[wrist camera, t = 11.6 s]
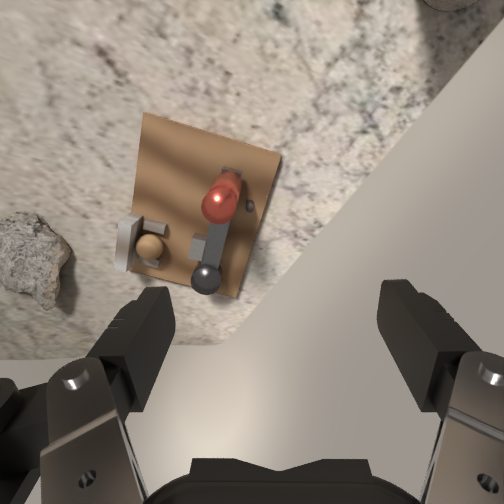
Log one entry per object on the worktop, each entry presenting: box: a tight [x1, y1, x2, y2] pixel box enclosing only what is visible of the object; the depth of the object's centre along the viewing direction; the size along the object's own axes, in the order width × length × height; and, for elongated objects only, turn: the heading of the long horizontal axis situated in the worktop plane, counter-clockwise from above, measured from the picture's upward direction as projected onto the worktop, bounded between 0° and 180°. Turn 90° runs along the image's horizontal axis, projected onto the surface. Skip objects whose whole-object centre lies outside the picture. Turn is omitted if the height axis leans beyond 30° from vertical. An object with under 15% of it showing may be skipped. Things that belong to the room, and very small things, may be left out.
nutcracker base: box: [114, 112, 281, 298], centre depth 39 cm, size 22×17×5 cm
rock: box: [0, 212, 71, 311], centre depth 44 cm, size 14×4×15 cm
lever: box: [188, 166, 243, 295], centre depth 34 cm, size 17×5×12 cm, turn 165°
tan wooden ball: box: [136, 234, 163, 260], centre depth 40 cm, size 4×4×4 cm
